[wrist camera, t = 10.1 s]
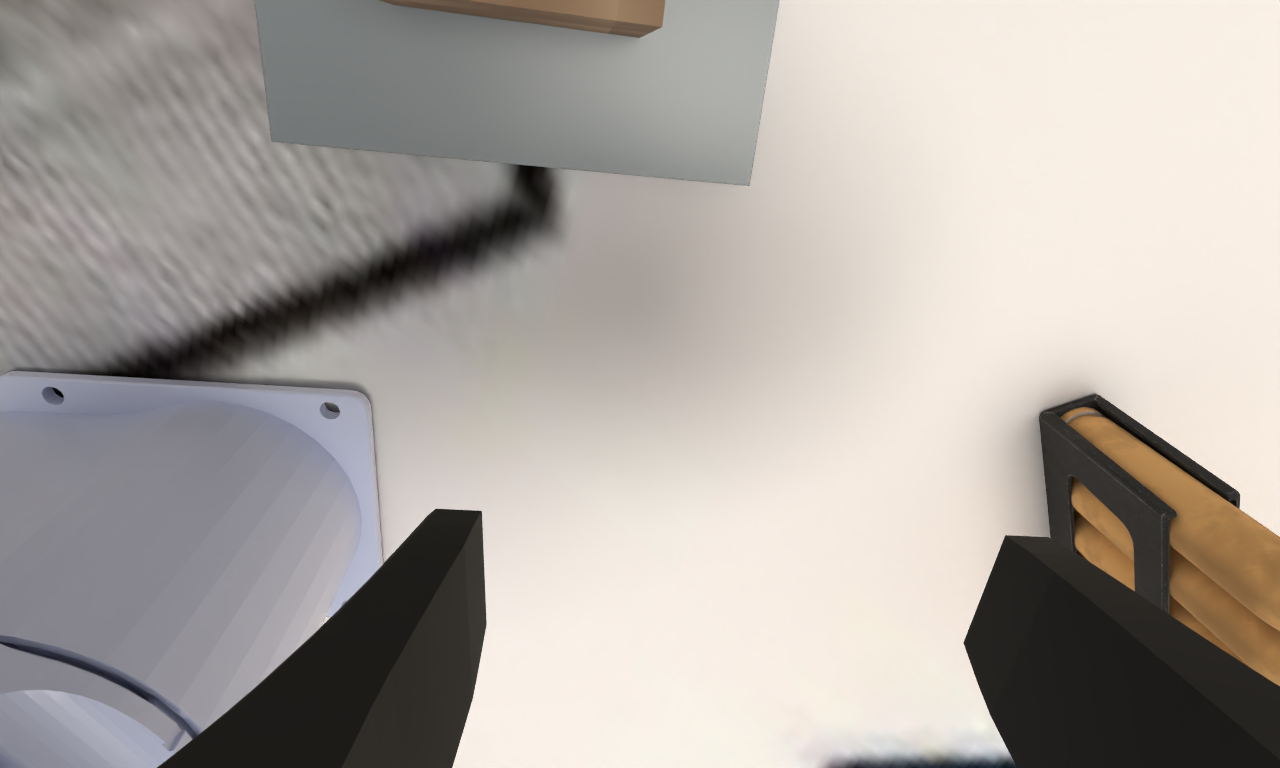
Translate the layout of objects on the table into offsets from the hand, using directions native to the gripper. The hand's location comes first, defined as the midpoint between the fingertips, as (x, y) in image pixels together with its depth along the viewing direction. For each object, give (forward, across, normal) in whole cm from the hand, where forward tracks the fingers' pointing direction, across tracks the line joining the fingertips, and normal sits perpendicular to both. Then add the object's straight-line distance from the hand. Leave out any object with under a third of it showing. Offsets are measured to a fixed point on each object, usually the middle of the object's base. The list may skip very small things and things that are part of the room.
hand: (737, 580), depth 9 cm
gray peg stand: (+10, +4, -9) cm, 15 cm away
